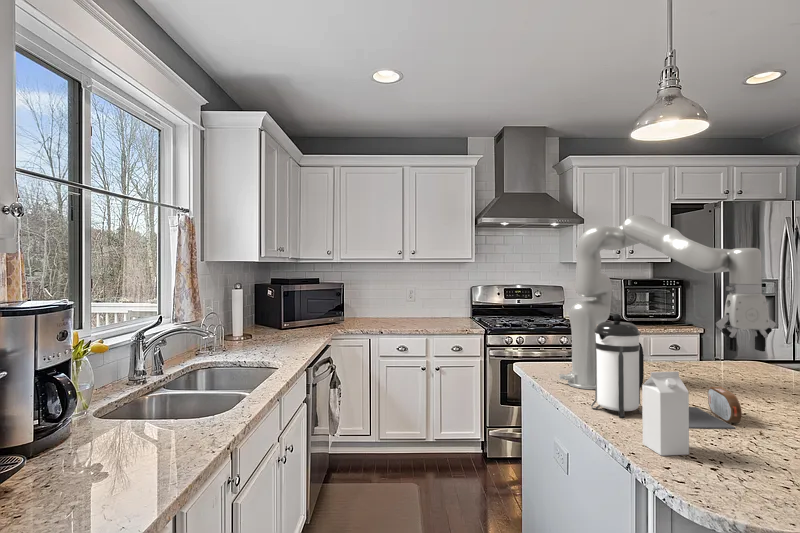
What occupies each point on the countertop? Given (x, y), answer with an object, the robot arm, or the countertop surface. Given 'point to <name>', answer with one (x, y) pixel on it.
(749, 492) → the countertop surface
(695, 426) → the rubber mat
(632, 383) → the coffee press
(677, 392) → the milk carton
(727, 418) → the tin
